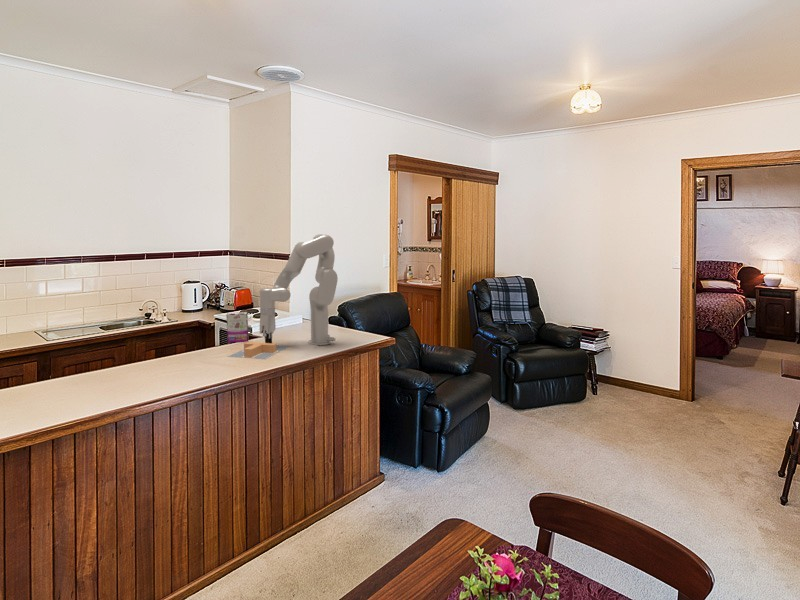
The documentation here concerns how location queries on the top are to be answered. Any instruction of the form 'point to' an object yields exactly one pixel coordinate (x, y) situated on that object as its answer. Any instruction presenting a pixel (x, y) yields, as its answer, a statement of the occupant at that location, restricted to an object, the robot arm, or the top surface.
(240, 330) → the candy bar box
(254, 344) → the t block
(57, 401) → the top surface
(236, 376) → the top surface
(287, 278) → the robot arm
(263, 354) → the mat
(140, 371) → the top surface
